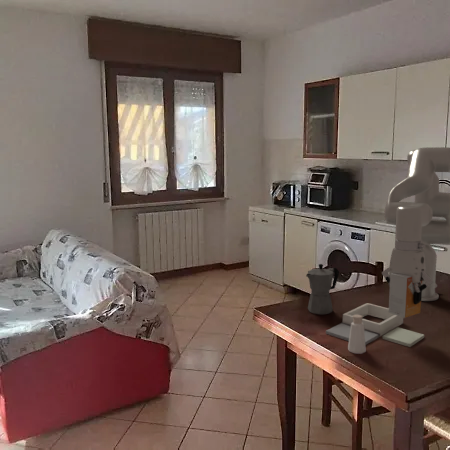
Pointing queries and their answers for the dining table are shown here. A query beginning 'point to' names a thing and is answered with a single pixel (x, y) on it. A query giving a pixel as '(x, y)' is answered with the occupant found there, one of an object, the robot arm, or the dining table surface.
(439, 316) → the dining table surface
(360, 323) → the pepper shaker
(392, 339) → the rubber mat
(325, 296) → the coffeepot
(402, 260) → the robot arm
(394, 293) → the small box
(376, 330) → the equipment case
